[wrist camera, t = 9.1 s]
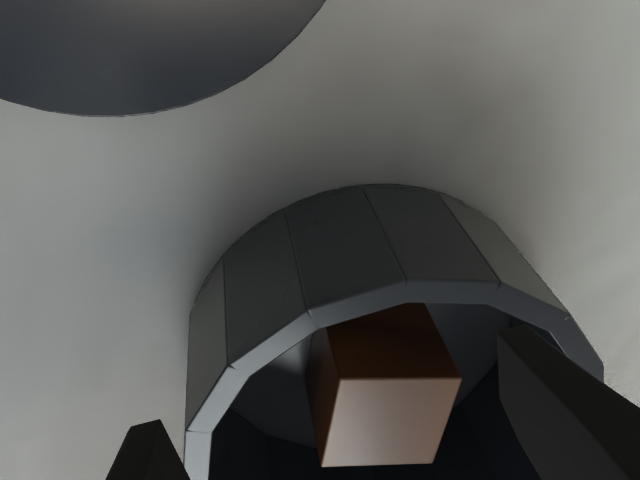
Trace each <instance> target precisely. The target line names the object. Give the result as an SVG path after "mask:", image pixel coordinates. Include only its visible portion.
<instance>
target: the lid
mask: <svg viewBox="0 0 640 480" xmlns="http://www.w3.org/2000/svg"><path fill="white" fill-rule="evenodd" d="M325 1H326V0H0V98H1V99H4V100H6V101H9V102H13V103H17V104H20V105H24V106H28V107H32V108H36V109H40V110H44V111H49V112H56V113H63V114H70V115H77V116H90V117H125V116H135V115H145V114H153V113H158V112H162V111H166V110H171V109H175V108H179V107H184V106H187V105H190V104H192V103H195V102H198V101H200V100H203V99H206V98H208V97H211V96H214V95H216V94H218V93H220V92H222V91H224V90H226V89H228V88H229V87H231V86H233V85H235V84H237V83H239V82H241V81H243V80H245V79H246V78H248V77H249V76H250V75H252V74H253V73H255V72H256V71H257V70H259V69H260V68H262V67H263V66H264V65H266V64H267V63H269V62H270V61H271V60H273V59H274V58H275V57H276V56H277V55H278V54H279V53H280V52H281V51H282V50H283V49H284V48H286V47H287V46H288V45H289V44H290V43H291V42H292V41H293V40H294V39H295V38H296V37H297V36H298V35H299V34H300V33H301V32H302V30H303V29H304V28H305V27H306V26H307V24H308V23H309V22H310V21H311V19H312V18H313V17H314V16H315V15H316V13H317V12H318V11H319V10H320V9H321V7H322V5H323V4H324V2H325Z"/></svg>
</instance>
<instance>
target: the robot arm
mask: <svg viewBox="0 0 640 480" xmlns="http://www.w3.org/2000/svg"><path fill="white" fill-rule="evenodd" d="M497 351H498V372H499V394H500V400H501V402H502V405H503V407H504V409H505V411H506V414H507V416H508V418H509V420H510V423H511V425H512V427H513V429H514V431H515V433H516V436H517V438H518V440H519V442H520V444H521V446H522V447H523V449H524V451H525V452H526V454H527V456H528V457H529V459H530V461H531V462H532V464H533V466H534V468H535V469H536V471H537V473H538V474H539V476H540V478H541V479H542V480H640V408H639V407H638V406H636V405H635V404H633V403H632V402H630V401H629V400H627V399H626V398H624V397H623V396H621V395H620V394H618V393H617V392H615V391H614V390H613V389H611V388H610V387H608V386H607V385H605V384H604V383H603V382H601V381H600V380H598V379H597V378H596V377H594V376H593V375H591V374H590V373H589V372H587V371H586V370H584V369H583V368H582V367H580V366H579V365H578V364H576V363H575V362H574V361H572V360H571V359H570V358H568V357H567V356H566V355H565V354H563V353H562V352H561V351H559V350H558V349H557V348H555V347H554V346H553V345H552V344H550V343H549V342H548V341H547V340H545V339H544V338H543V337H542V336H540V335H539V334H538V333H536V332H535V331H534V330H533V329H531V328H530V327H529V326H527V325H525V324H523V325H519V326H515V327H511V328H507V329H504V330H500V331H497ZM106 480H191V479H190V477H189V475H188V473H187V472H186V470H185V468H184V466H183V464H182V462H181V460H180V458H179V456H178V454H177V452H176V450H175V448H174V446H173V444H172V442H171V440H170V438H169V436H168V434H167V432H166V430H165V428H164V426H163V424H162V422H161V420H160V419H158V420H154V421H151V422H147V423H143V424H139V425H135V426H131V428H130V429H129V431H128V432H127V435H126V437H125V439H124V441H123V443H122V445H121V448H120V450H119V452H118V454H117V456H116V458H115V461H114V463H113V465H112V467H111V469H110V471H109V473H108V476H107V478H106Z"/></svg>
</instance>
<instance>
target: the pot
mask: <svg viewBox="0 0 640 480" xmlns="http://www.w3.org/2000/svg"><path fill="white" fill-rule="evenodd" d="M404 303H425V305H426V307H427V309H428V311H429V313H430V315H431V317H432V319H433V321H434V323H435V325H436V327H437V329H438V331H439V333H440V335H441V337H442V339H443V341H444V343H445V345H446V347H447V349H448V351H449V353H450V355H451V357H452V358H453V360H454V362H455V364H456V366H457V368H458V370H459V372H460V374H461V376H462V381H461V384H460V387H459V390H458V393H457V396H456V398H455V401H454V404H453V407H452V410H451V413H450V416H449V418H448V421H447V424H446V427H445V430H444V433H443V435H442V438H441V441H440V444H439V447H438V450H437V453H436V455H435V458H434V461H433V463H428V464H399V465H370V466H342V467H321V465H320V460H319V455H318V449H317V444H316V439H315V434H314V428H313V423H312V418H311V412H310V407H309V402H308V396H307V391H306V386H305V379H306V373H307V367H308V362H309V356H310V350H311V345H312V339H313V334H314V332H315V331H317V330H318V329H321V328H324V327H328V326H331V325H334V324H338V323H341V322H344V321H348V320H351V319H354V318H358V317H361V316H364V315H368V314H371V313H374V312H378V311H381V310H384V309H388V308H391V307H394V306H398V305H401V304H404ZM523 324H525V325H527V326H529V327H530V328H531V329H533V330H534V331H535V332H536V333H538V334H539V335H540V336H542V337H543V338H544V339H545V340H547V341H548V342H549V343H550V344H552V345H553V346H554V347H555V348H557V349H558V350H559V351H561V352H562V353H563V354H565V355H566V356H567V357H568V358H570V359H571V360H572V361H574V362H575V363H576V364H578V365H579V366H580V367H582V368H583V369H584V370H586V371H587V372H589V373H590V374H591V375H593V376H594V377H596V378H597V379H598V380H600V381H601V382H603V381H604V365H603V362H602V361H601V359H600V358H599V356H598V355H597V353H596V352H595V350H594V349H593V347H592V346H591V344H590V343H589V341H588V340H587V338H586V337H585V335H584V334H583V332H582V331H581V329H580V328H579V326H578V325H577V323H576V322H575V320H574V319H573V317H572V316H571V314H570V313H569V312H568V310H567V309H566V308H565V307H564V306H563V304H562V303H561V302H560V301H559V299H558V298H557V297H556V296H555V295H554V293H553V292H552V291H551V290H550V288H549V287H548V286H547V285H546V284H545V282H544V281H543V280H542V279H541V277H540V276H539V275H538V274H537V273H536V271H535V270H534V269H533V268H532V267H531V265H530V264H529V263H528V262H527V260H526V259H525V258H524V257H523V256H522V254H521V253H520V252H519V251H518V249H517V248H516V247H515V246H514V245H513V243H512V242H511V241H510V240H509V238H508V237H507V236H506V235H505V234H504V232H503V231H502V230H501V229H500V227H499V226H498V225H497V224H496V223H495V222H494V221H492V220H490V219H488V218H487V217H485V216H483V215H482V214H481V213H480V212H478V211H477V210H475V209H473V208H472V207H470V206H469V205H467V204H465V203H464V202H462V201H460V200H457V199H455V198H452V197H450V196H448V195H445V194H443V193H440V192H436V191H432V190H428V189H425V188H421V187H414V186H406V185H399V184H368V185H360V186H351V187H344V188H340V189H336V190H332V191H328V192H323V193H320V194H317V195H314V196H312V197H309V198H306V199H303V200H301V201H298V202H295V203H293V204H292V205H290V206H288V207H286V208H284V209H282V210H280V211H278V212H276V213H274V214H272V215H271V216H269V217H268V218H266V219H265V220H263V221H261V222H260V223H258V224H257V225H255V226H254V227H253V228H251V229H250V230H249V231H248V232H247V233H245V234H244V235H243V236H242V237H241V238H240V239H238V240H237V241H236V242H235V243H234V244H233V245H232V246H231V247H230V248H229V249H228V251H227V252H226V253H225V254H224V255H223V256H222V257H221V258H220V259H219V261H218V262H217V263H216V265H215V266H214V268H213V269H212V271H211V272H210V274H209V275H208V277H207V278H206V280H205V282H204V284H203V286H202V288H201V290H200V292H199V294H198V296H197V299H196V302H195V305H194V307H193V309H192V311H191V313H190V319H189V341H188V362H187V385H186V408H185V432H184V455H183V466H184V468H185V470H186V472H187V473H188V475H189V477H190V479H191V480H542V479H541V478H540V476H539V474H538V473H537V471H536V469H535V468H534V466H533V464H532V462H531V461H530V459H529V457H528V456H527V454H526V452H525V451H524V449H523V447H522V446H521V444H520V442H519V440H518V438H517V436H516V433H515V431H514V429H513V427H512V425H511V423H510V420H509V418H508V416H507V414H506V411H505V409H504V407H503V405H502V402H501V400H500V394H499V372H498V351H497V331H500V330H504V329H507V328H511V327H515V326H519V325H523Z"/></svg>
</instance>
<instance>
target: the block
mask: <svg viewBox="0 0 640 480" xmlns="http://www.w3.org/2000/svg"><path fill="white" fill-rule="evenodd" d="M461 381H462V376H461V374H460V372H459V370H458V368H457V366H456V364H455V362H454V360H453V358H452V357H451V355H450V353H449V351H448V349H447V347H446V345H445V343H444V341H443V339H442V337H441V335H440V333H439V331H438V329H437V327H436V325H435V323H434V321H433V319H432V317H431V315H430V313H429V311H428V309H427V307H426V305H425V303H404V304H401V305H398V306H394V307H391V308H388V309H384V310H381V311H378V312H374V313H371V314H368V315H364V316H361V317H358V318H354V319H351V320H348V321H344V322H341V323H338V324H334V325H331V326H328V327H324V328H321V329H318V330H317V331H315V332H314V334H313V339H312V345H311V350H310V356H309V362H308V367H307V373H306V379H305V386H306V391H307V396H308V402H309V407H310V412H311V418H312V423H313V428H314V434H315V439H316V444H317V449H318V455H319V460H320V465H321V467H342V466H370V465H399V464H428V463H433V461H434V458H435V455H436V453H437V450H438V447H439V444H440V441H441V438H442V435H443V433H444V430H445V427H446V424H447V421H448V418H449V416H450V413H451V410H452V407H453V404H454V401H455V398H456V396H457V393H458V390H459V387H460V384H461Z"/></svg>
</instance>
